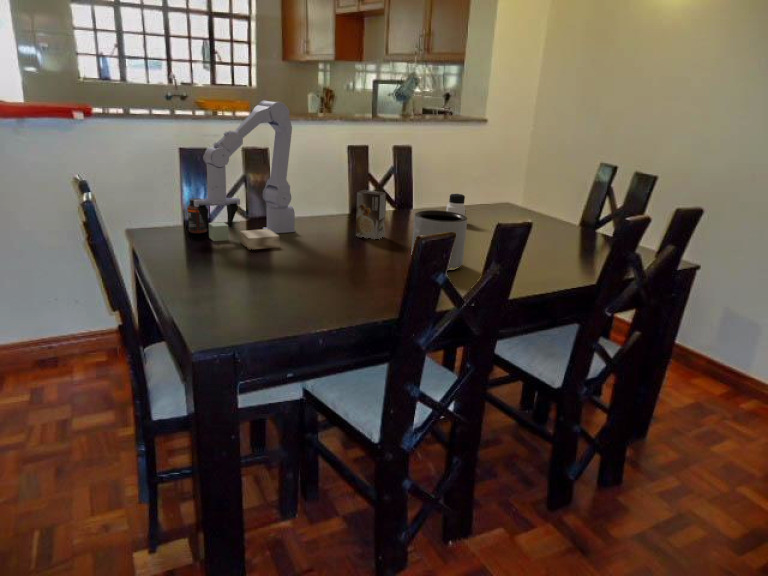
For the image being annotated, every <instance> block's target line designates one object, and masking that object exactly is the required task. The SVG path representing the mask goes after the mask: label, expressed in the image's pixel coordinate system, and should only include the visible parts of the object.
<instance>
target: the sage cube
mask: <svg viewBox="0 0 768 576" xmlns="http://www.w3.org/2000/svg"><path fill="white" fill-rule="evenodd" d="M229 234H230V233H229V226H228V223H226V222H224V221H221V222H220V221H219V222H218V221H217V222H208V238H209V239H210V240H212V242H220V241H229V239H230V237H229Z"/></svg>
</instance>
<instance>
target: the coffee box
mask: <svg viewBox="0 0 768 576" xmlns="http://www.w3.org/2000/svg"><path fill="white" fill-rule="evenodd" d="M386 206H387V192H383V191H378V190H376V191H375V190H370V189H369V190H368V189H362V190H359V191H358V192H357V191H356V215H355V216H356V218H355V237H356V236H357V237H356V238H362V237H364V238H363V239H368V238H371V239H370V240H375V239H379V240H381V239H383V238H385V231H386V230H385V229H386V228H385V227H386V208H387V207H386ZM382 237H383V238H382ZM380 238H381V239H380Z"/></svg>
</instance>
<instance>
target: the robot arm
mask: <svg viewBox="0 0 768 576" xmlns="http://www.w3.org/2000/svg"><path fill="white" fill-rule="evenodd" d="M290 111H291V110H290V109H289V108H288V107H287V105H286V104H285V103H283V101H282V102H281V101H269V100H265V99H264V100H262V101H260V102H259V103H258V104H257V105H255V106H254V108H253V109H252V111H251V112H250V113H249V114H248V116H246V118H244V120H243V121H242V122H241V124H240V125H239V126H238V127H237V128H236V129H234V130H232V129H231V130H228V131H224V133H223V136H222V137H221V138H220V139H219V140H218V141H217V142H214V143H213V146H211V147H208V148H207V149H206V150H205V151H204V154H203V156H202V160H203V162H205V164H206V176H207V182H206V183H207V198H200V199H199V200H194V206H195V207H197V208H198V210H199V212H200V214H201V216H202V219H203V222H204V227H205V228H206V229H207V230H209V209H208V206H210V207H211V206H213V207H214V206H215V207H217V206H226V213H227V225H228V228H232V225H233V222H234V219H235V215H236V213H237V211H238V209H239V206H240V205H241V198H239V197H227V177H226V175H227V172H226V166H227V165H228V164H229V162H230V157H231V156H233V154H235V153H236V151H237V150H238V149H239V148H240V147H241V146H242V145H243V144H244V138H246V137H247V136H248V135H249V134H250V133H251V132H252V131H253V130H255V129H256V128H257V127H258V126H259V125H260V124H266V123H267V124H269V125H270V126H271V128H272V129H273V131H274V140H273V151H272V159H271V160H272V161H271V169H270V170H271V171H270V177H269V178H268V179H267V181H266V183H265V187H264V189H263V190H262V198H263V200H264V201H265V205H266V227H262V229H270V230H271V231H273V232H274V233H276V234H285V233H296V230H295V226H296V219H295V218H296V216H295V215H296V214H295V208H294V207H293V206H292V205H290V203H291V202H292V193H291V185H290V183H289V181H288V180H287V179H288V178H287V177H288V168H289V161H290V152H291V151H290V150H291V141H292V133H293V132H292V131H293V126H292V122H291V118H290V113H291V112H290Z"/></svg>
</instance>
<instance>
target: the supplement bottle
mask: <svg viewBox="0 0 768 576" xmlns="http://www.w3.org/2000/svg"><path fill="white" fill-rule="evenodd" d="M199 199H201V198H190V199H189V203H190V204H189V205H188V206H187V221H188V231H189V233H191V234H204V233H206V232H207V231H208V229H206V228H205V227H204V222H203V219H202V216H201V214H200V212H199V210H198V208H197V207H195V206H194V200H199Z"/></svg>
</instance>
